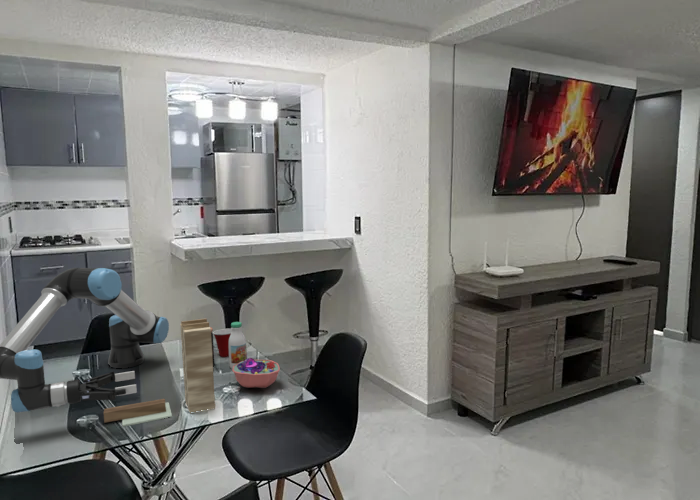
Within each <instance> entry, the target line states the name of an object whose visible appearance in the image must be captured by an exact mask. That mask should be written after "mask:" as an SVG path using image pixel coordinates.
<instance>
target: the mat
mask: <svg viewBox="0 0 700 500" xmlns="http://www.w3.org/2000/svg"><path fill="white" fill-rule="evenodd" d="M165 404H166V412H161V413H156V414H150V415H145V416H139V417H133V418H128V419H122V420H121V421H122V423H121V425H122V428H124V427H128V426H134V425H139V424H144V423H149V422H154V421H159V420H164V418H165V419H169V418H168V417H170V418H173V414H172V411H171V406H170V403H169V401H168V402H165Z"/></svg>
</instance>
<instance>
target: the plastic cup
mask: <svg viewBox="0 0 700 500" xmlns="http://www.w3.org/2000/svg"><path fill="white" fill-rule="evenodd" d="M231 332H232V329H231V328H222V329H216V330H214V331H212V333H213V337H214V339H215V343H216V347H217V351H218V353H219V356H220V357H222V358H227V357H228V358H229V337H230V335H231Z"/></svg>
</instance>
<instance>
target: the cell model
mask: <svg viewBox="0 0 700 500" xmlns="http://www.w3.org/2000/svg"><path fill="white" fill-rule="evenodd" d="M280 369H281V367H280V365H279V363H278V362H275V361H274V360H271V359H255V358H253V357H247V359H246V360H245V361H241V362H239V363H237V364H236V365H234V366H233V369H231V370H232V372H233V375H234V377H235V380H236V381H237V382H238V384H239V385H240V386H242V387H244V388H248V389H249V388H250V389H251V388H259V389H266V388H268V387H270V386H271V385H272V384H274V383H275V382H276V380H277V378H278V375H279V373H280V371H281V370H280Z"/></svg>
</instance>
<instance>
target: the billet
mask: <svg viewBox="0 0 700 500" xmlns="http://www.w3.org/2000/svg"><path fill="white" fill-rule="evenodd" d="M165 403H166V399H165V398H161V399H154V400H149V401H143V402H136V403H130V404H126V405H120V406H113V407H108V408H103V421H104V422H103V423H104V424H105V423H111V422H116V421H122V419H128V418H133V417H139V416H145V415H150V414H156V413H161V412H166V404H165Z"/></svg>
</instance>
